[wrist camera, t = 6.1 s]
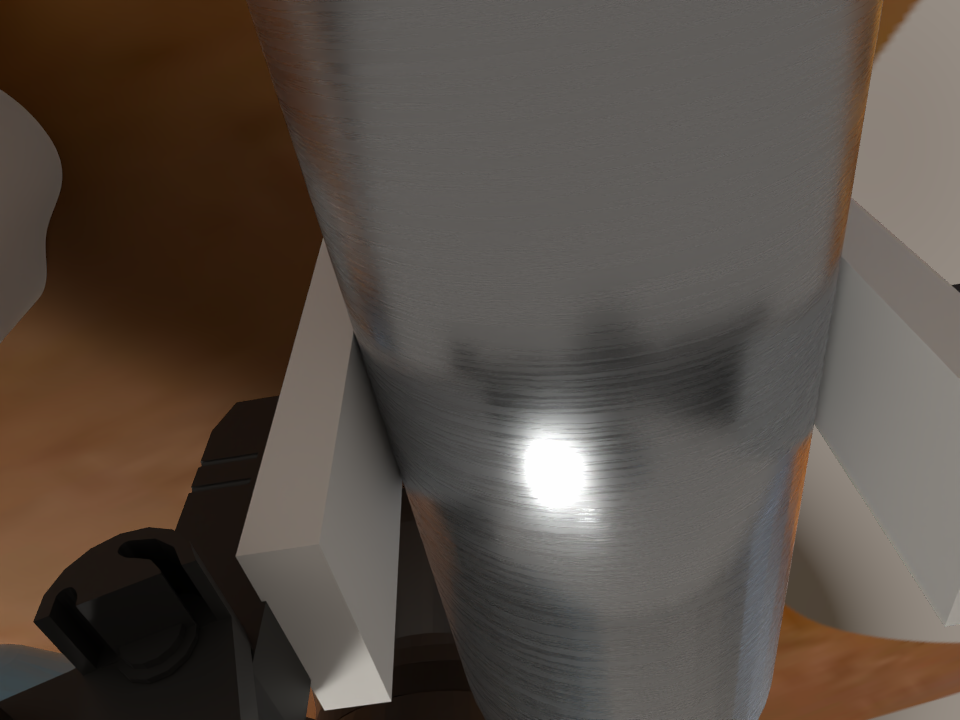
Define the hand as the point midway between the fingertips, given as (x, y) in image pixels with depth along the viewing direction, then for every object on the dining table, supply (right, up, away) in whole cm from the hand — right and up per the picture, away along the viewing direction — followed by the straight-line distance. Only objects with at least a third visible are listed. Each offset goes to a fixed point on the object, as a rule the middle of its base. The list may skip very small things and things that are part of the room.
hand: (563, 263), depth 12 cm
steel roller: (0, -1, -2) cm, 3 cm away
